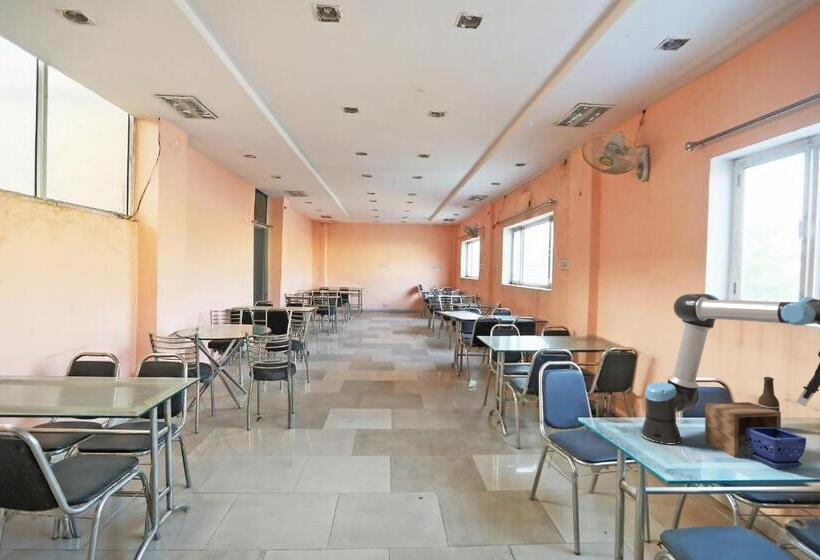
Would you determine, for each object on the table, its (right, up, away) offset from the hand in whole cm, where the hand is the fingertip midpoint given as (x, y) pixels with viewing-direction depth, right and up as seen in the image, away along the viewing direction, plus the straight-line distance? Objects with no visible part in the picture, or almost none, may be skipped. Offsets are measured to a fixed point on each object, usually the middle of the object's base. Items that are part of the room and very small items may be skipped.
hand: (800, 403), depth 157 cm
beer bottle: (+25, -25, +44) cm, 56 cm away
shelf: (-7, -24, +19) cm, 32 cm away
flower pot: (-5, -25, +5) cm, 26 cm away
